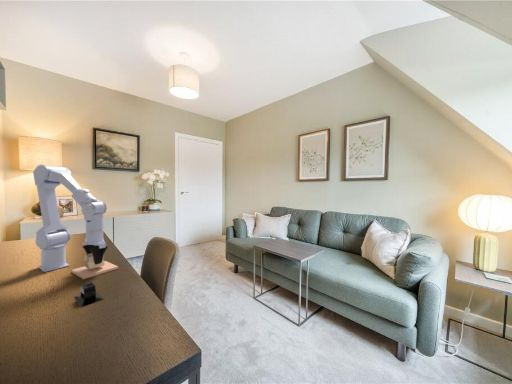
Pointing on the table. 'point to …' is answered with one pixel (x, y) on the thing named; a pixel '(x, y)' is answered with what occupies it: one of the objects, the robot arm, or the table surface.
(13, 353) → the table surface
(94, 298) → the black block on base
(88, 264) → the birch cube
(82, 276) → the salmon pink board
